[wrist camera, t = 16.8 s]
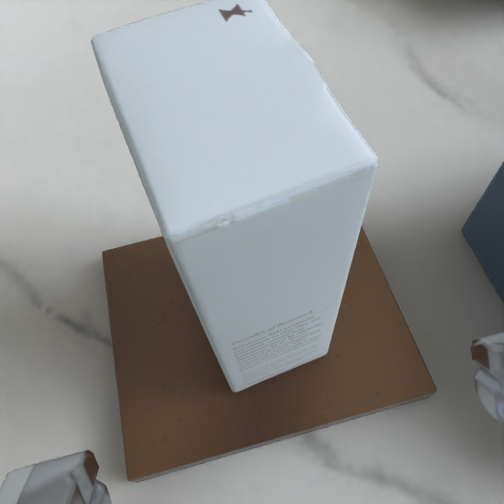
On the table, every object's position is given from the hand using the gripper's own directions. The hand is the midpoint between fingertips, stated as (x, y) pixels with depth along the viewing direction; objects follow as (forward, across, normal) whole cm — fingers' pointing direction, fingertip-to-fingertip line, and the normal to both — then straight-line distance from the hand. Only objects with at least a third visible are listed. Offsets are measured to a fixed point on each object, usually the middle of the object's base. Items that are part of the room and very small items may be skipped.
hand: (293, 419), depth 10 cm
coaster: (+11, 0, -2) cm, 11 cm away
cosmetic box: (+10, 0, -2) cm, 10 cm away
